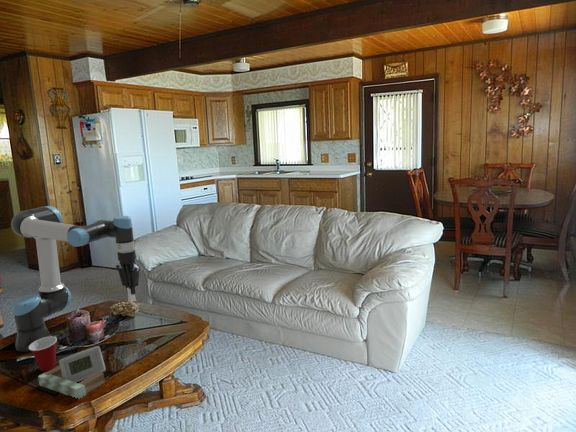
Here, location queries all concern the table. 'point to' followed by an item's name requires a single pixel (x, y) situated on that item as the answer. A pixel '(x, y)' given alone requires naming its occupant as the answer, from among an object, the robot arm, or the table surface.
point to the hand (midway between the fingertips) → (132, 300)
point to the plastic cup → (44, 352)
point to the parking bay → (70, 383)
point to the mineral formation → (125, 308)
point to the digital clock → (82, 364)
